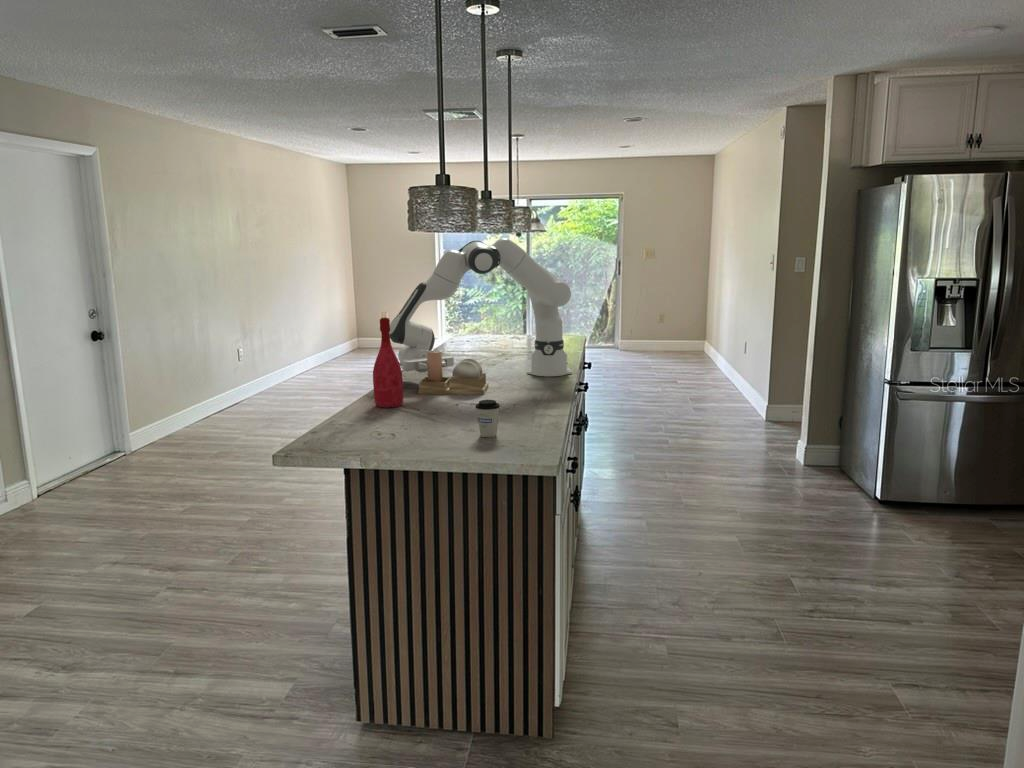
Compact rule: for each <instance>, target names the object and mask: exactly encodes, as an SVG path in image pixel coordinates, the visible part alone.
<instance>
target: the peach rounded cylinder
mask: <svg viewBox="0 0 1024 768" xmlns="http://www.w3.org/2000/svg"><path fill="white" fill-rule="evenodd" d="M440 351H441V350H431V351H430V352H427V364H429V369H427V377H428V382H443V377H444V376H443V367H442V353H443V351H442V352H440Z"/></svg>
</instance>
